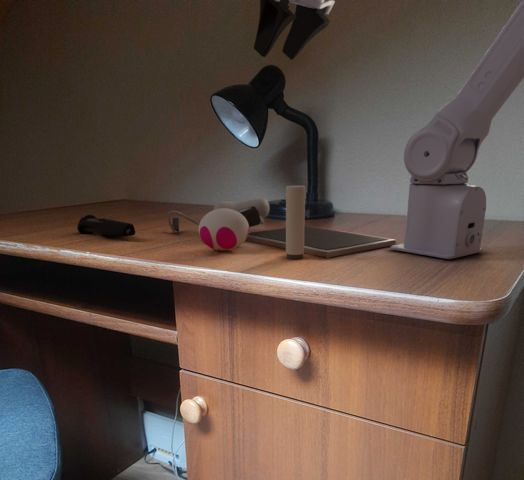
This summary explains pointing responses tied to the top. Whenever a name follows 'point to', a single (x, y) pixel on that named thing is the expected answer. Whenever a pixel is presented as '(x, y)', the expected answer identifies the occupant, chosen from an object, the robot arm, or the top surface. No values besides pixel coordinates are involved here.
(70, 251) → the top surface
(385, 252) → the top surface
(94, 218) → the electric trimmer
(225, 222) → the stress ball
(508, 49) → the robot arm
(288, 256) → the beige cylinder
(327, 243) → the tablet
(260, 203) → the white corded device
